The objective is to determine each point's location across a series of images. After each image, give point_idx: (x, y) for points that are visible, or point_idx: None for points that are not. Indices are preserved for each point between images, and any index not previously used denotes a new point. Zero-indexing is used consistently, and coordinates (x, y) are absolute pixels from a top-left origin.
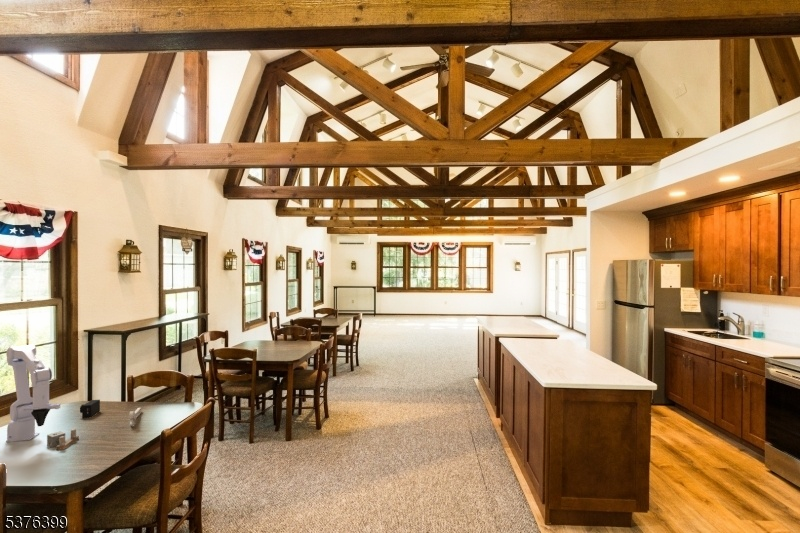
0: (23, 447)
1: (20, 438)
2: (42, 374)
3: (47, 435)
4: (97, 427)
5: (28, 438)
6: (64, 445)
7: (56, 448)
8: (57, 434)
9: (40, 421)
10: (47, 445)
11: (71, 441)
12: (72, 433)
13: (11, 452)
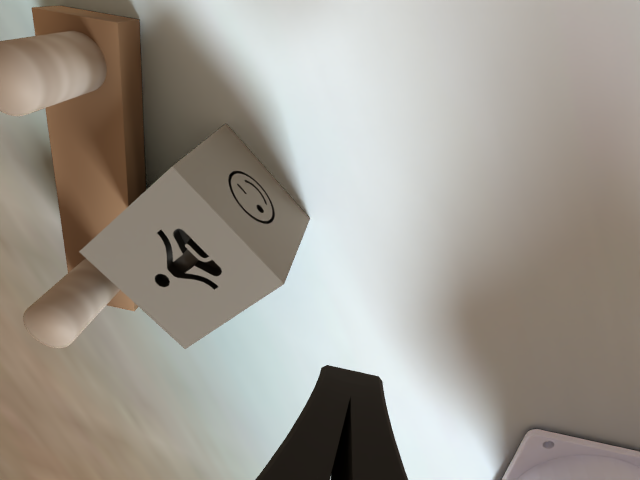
0: (535, 262)
1: (611, 466)
2: None
3: (279, 273)
4: (92, 468)
5: (540, 451)
6: (38, 27)
7: (129, 19)
8: (153, 241)
9: (308, 432)
10: (303, 213)
11: (59, 169)
12: (65, 284)
13: (635, 150)
